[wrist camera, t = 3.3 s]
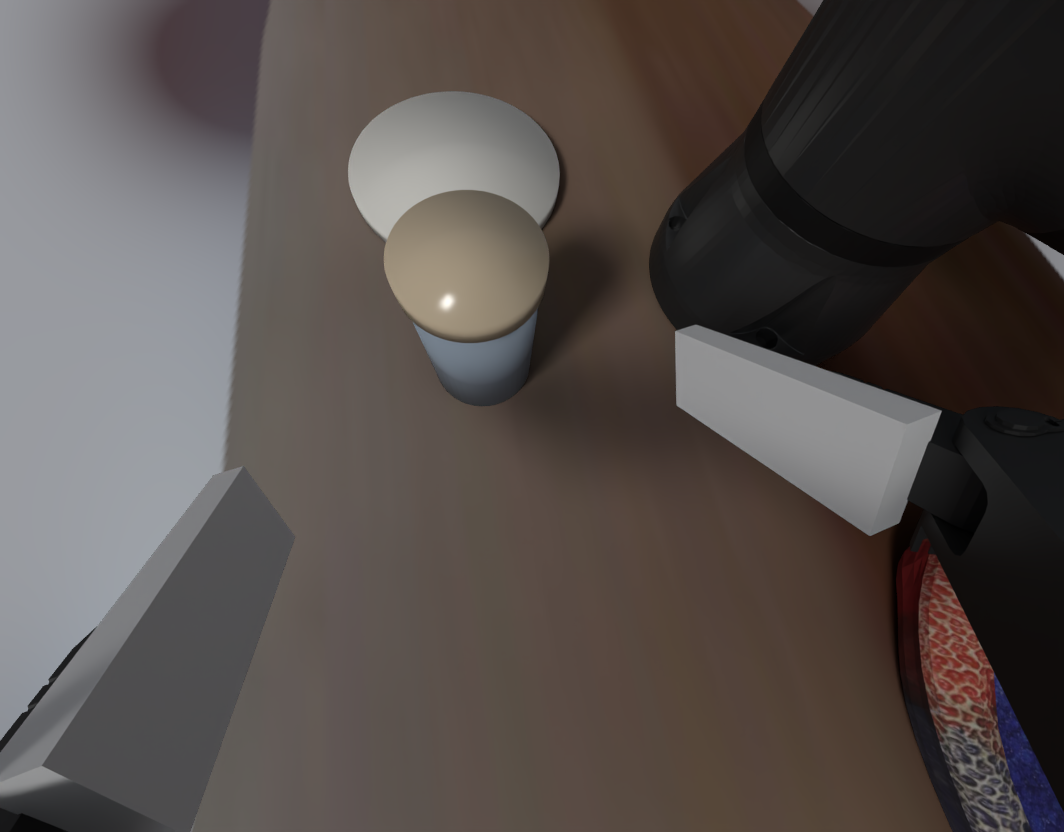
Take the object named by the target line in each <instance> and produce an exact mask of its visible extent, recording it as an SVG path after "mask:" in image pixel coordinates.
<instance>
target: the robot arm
mask: <svg viewBox="0 0 1064 832" xmlns="http://www.w3.org/2000/svg"><path fill="white" fill-rule="evenodd" d="M997 221H1001V222H1004V223H1006V224H1009V225H1012V226H1014V227H1016V228H1018V229H1019V230H1021V231H1023V232H1025V233H1027V234H1029V235H1030V236H1032V237H1034V238H1036V239H1037V240H1039V241H1041V242H1043V243H1044V244H1046V245H1048V246H1049V247H1051V248H1053V249H1054V250H1056V251H1058V252H1059V253H1061V254H1063V255H1064V0H823V2H822V3H821V5H820V7H819V9H818V10H817V12H816V14H815V15H814V17H813V19H812V20H811V22H810V24H809V25H808V27H807V29H806V30H805V32H804V34H803V35H802V37H801V38H800V40H799V42H798V43H797V45H796V47H795V48H794V50H793V52H792V53H791V55H790V57H789V58H788V60H787V61H786V63H785V65H784V66H783V68H782V70H781V71H780V73H779V75H778V76H777V78H776V80H775V81H774V83H773V85H772V86H771V88H770V89H769V91H768V93H767V95H766V97H765V99H764V100H763V102H762V104H761V105H760V107H759V109H758V110H757V112H756V114H755V115H754V117H753V118H752V120H751V122H750V123H749V125H748V126H747V128H746V130H745V131H744V132H743V133H742V134H741V135H740V136H739V137H738V138H737V139H736V140H735V141H734V142H733V143H732V144H731V145H730V146H729V147H728V148H727V149H726V150H725V151H724V152H723V153H721V154H720V155H719V156H718V157H717V158H716V159H715V160H714V161H713V162H712V163H711V164H710V165H709V166H708V167H707V168H706V169H705V170H704V171H703V172H702V173H701V174H700V175H699V176H698V177H697V178H696V179H694V180H693V181H692V182H691V183H690V184H689V185H688V186H687V187H686V188H685V189H684V190H683V191H682V192H681V193H680V194H679V195H678V197H677V198H676V199H675V200H674V202H673V203H672V205H671V206H670V208H669V209H668V211H667V213H666V215H665V217H664V219H663V221H662V223H661V225H660V227H659V229H658V231H657V232H656V235H655V237H654V240H653V243H652V246H651V250H650V258H649V270H650V278H651V283H652V287H653V290H654V293H655V295H656V298H657V300H658V302H659V304H660V306H661V308H662V310H663V312H664V313H665V315H666V316H667V318H668V319H669V321H670V322H671V323H672V324H673V326H674V327H675V328H676V329H677V331H675V350H676V405H677V406H678V407H680V408H681V409H683V410H684V411H686V412H687V413H689V414H690V415H692V416H693V417H695V418H696V419H697V420H699V421H700V422H702V423H703V424H705V425H706V426H708V427H709V428H711V429H712V430H714V431H715V432H717V433H718V434H720V435H721V436H723V437H724V438H726V439H727V440H729V441H730V442H731V443H733V444H734V445H736V446H737V447H739V448H740V449H742V450H743V451H745V452H746V453H748V454H749V455H751V456H752V457H754V458H755V459H757V460H758V461H760V462H761V463H762V464H764V465H765V466H767V467H768V468H770V469H771V470H773V471H774V472H776V473H777V474H779V475H780V476H782V477H783V478H785V479H786V480H788V481H789V482H791V483H792V484H794V485H795V486H796V487H798V488H799V489H801V490H802V491H804V492H805V493H807V494H808V495H810V496H811V497H813V498H814V499H816V500H817V501H819V502H820V503H822V504H823V505H825V506H826V507H828V508H829V509H830V510H832V511H833V512H835V513H836V514H838V515H839V516H841V517H842V518H844V519H845V520H847V521H848V522H850V523H851V524H853V525H854V526H856V527H857V528H859V529H860V530H861V531H863V532H864V533H866V534H867V535H869V536H871V535H873V534H876V533H878V532H880V531H882V530H885V529H887V528H889V527H892V526H894V525H896V524H898V523H899V522H900V520H901V517H902V514H903V512H904V509H905V507H906V504H907V501H910V502H912V503H914V504H915V505H917V506H919V507H921V508H923V512H922V514H921V517H920V519H919V521H918V524H917V526H916V529H915V531H914V533H913V536H912V538H911V541H910V551H913V552H918V550H919V548H920V546H921V543H922V541H923V539H928V540H929V542H930V544H931V546H930V548H929V550H928V554H933V555H936V556H937V558H938V560H939V562H940V564H941V566H942V568H943V570H944V572H945V574H946V576H947V578H948V580H949V582H950V584H951V586H952V588H953V590H954V592H955V594H956V597H957V599H958V601H959V603H960V605H961V607H962V609H963V611H964V613H965V615H966V617H967V619H968V621H969V623H970V625H971V627H972V629H973V631H974V633H975V635H976V637H977V639H978V641H979V643H980V645H981V647H982V649H983V651H984V653H985V655H986V657H987V659H988V661H989V663H990V665H991V667H992V669H993V671H994V673H995V675H996V677H997V679H998V681H999V683H1000V685H1001V687H1002V689H1003V691H1004V693H1005V695H1006V697H1007V699H1008V701H1009V703H1010V705H1011V707H1012V709H1013V711H1014V714H1015V716H1016V718H1017V720H1018V722H1019V724H1020V726H1021V728H1022V730H1023V732H1024V734H1025V736H1026V738H1027V740H1028V742H1029V744H1030V746H1031V748H1032V750H1033V752H1034V754H1035V756H1036V758H1037V760H1038V762H1039V764H1040V766H1041V768H1042V770H1043V772H1044V774H1045V776H1046V778H1047V780H1048V782H1049V784H1050V786H1051V788H1052V790H1053V792H1054V794H1055V796H1056V798H1057V800H1058V802H1059V804H1060V806H1061V808H1062V810H1063V812H1064V419H1062V420H1059V419H1057V418H1055V417H1052V416H1048V415H1045V414H1042V413H1039V412H1034V411H1029V410H1024V409H1019V408H1009V407H998V406H996V407H979V408H976V409H972V410H969V411H967V412H966V413H965V414H964V415H962V414H959V413H956V412H953V411H950V410H947V409H944V408H941V407H938V406H936V405H933V404H930V403H927V402H924V401H921V400H918V399H915V398H912V397H909V396H907V395H904V394H901V393H898V392H895V391H892V390H889V389H885V390H883V389H882V387H880V386H878V385H875V384H872V383H869V382H867V383H864V382H863V380H860V379H857V378H854V377H852V376H849V375H846V374H843V373H839V372H833V371H827V370H824V369H821V368H818V367H816V366H815V365H817V364H819V363H821V362H823V361H825V360H827V359H829V358H830V357H832V356H834V355H836V354H838V353H840V352H842V351H844V350H845V349H847V348H848V347H850V346H851V345H852V344H854V343H855V342H856V341H858V340H859V339H860V338H861V337H862V336H863V335H864V334H865V333H866V332H867V331H868V330H869V329H870V328H871V327H872V326H873V325H874V323H875V322H876V321H877V320H878V319H879V318H880V317H881V316H882V315H883V313H884V312H885V311H886V310H887V309H888V308H889V307H890V306H891V305H892V303H893V302H894V301H895V300H896V299H897V298H898V297H899V296H900V295H901V293H902V292H903V291H904V290H905V289H906V288H907V287H908V286H909V285H910V283H911V282H912V281H913V280H914V279H915V278H916V277H917V276H918V275H919V273H920V272H921V271H922V270H923V269H924V268H925V267H926V266H927V265H928V264H929V263H930V262H932V261H933V260H935V259H936V258H938V257H939V256H941V255H943V254H944V253H945V252H947V251H949V250H950V249H952V248H953V247H955V246H956V245H958V244H960V243H961V242H963V241H964V240H966V239H968V238H969V237H971V236H972V235H974V234H976V233H978V232H980V231H982V230H983V229H985V228H987V227H989V226H990V225H992V224H994V223H996V222H997ZM294 539H295V536H294V534H293V533H292V532H291V530H290V529H289V528H288V526H287V525H286V523H285V522H284V521H283V519H282V518H281V517H280V515H279V514H278V512H277V511H276V510H275V508H274V507H273V506H272V504H271V503H270V501H269V500H268V499H267V497H266V496H265V495H264V493H263V492H262V490H261V489H260V488H259V486H258V485H257V484H256V482H255V481H254V479H253V478H252V477H251V475H250V474H249V473H248V471H247V470H246V468H245V467H244V466H242V467H239V468H235V469H232V470H229V471H226V472H223V473H219V474H217V475H213V476H212V478H211V479H210V480H209V482H208V483H207V484H206V486H205V487H204V488H203V490H202V491H201V492H200V493H199V495H198V496H197V497H196V499H195V500H194V501H193V503H192V504H191V505H190V506H189V508H188V509H187V510H186V512H185V513H184V514H183V516H182V517H181V518H180V519H179V521H178V522H177V523H176V525H175V526H174V527H173V529H172V530H171V531H170V533H169V534H168V535H167V536H166V538H165V539H164V540H163V541H162V543H161V544H160V545H159V547H158V548H157V549H156V551H155V552H154V553H153V554H152V556H151V557H150V558H149V560H148V561H147V562H146V564H145V565H144V566H143V567H142V569H141V570H140V571H139V573H138V574H137V575H136V577H135V578H134V579H133V581H132V582H131V583H130V584H129V586H128V587H127V588H126V590H125V591H124V592H123V594H122V595H121V596H120V597H119V599H118V600H117V601H116V603H115V604H114V605H113V607H112V608H111V609H110V610H109V612H108V613H107V614H106V616H105V617H104V618H103V620H102V621H101V622H100V623H99V625H98V626H97V627H96V628H95V629H94V630H93V631H91V633H89V634H88V635H87V636H86V637H85V638H84V639H83V640H82V641H81V642H80V643H79V644H78V645H76V646H75V647H74V648H73V649H72V651H71V652H70V653H69V654H68V655H67V657H66V658H65V659H64V661H63V662H62V663H61V664H60V666H59V667H58V668H57V669H56V671H55V672H54V673H53V674H52V676H51V677H50V678H49V684H48V685H45V686H43V687H42V689H41V690H40V691H39V693H38V694H37V695H36V696H35V697H34V699H33V700H32V701H31V702H30V704H29V705H28V711H27V712H24V713H22V714H21V715H20V716H19V718H18V719H17V720H16V722H15V723H14V724H13V725H12V727H11V728H10V729H9V730H8V732H7V733H6V734H5V736H4V737H3V738H2V740H1V741H0V832H190V831H191V828H192V825H193V823H194V820H195V817H196V814H197V811H198V809H199V806H200V803H201V800H202V797H203V795H204V792H205V789H206V786H207V783H208V781H209V778H210V775H211V772H212V769H213V766H214V764H215V761H216V758H217V755H218V752H219V750H220V747H221V744H222V741H223V738H224V736H225V733H226V730H227V727H228V724H229V722H230V719H231V716H232V713H233V710H234V708H235V705H236V702H237V699H238V696H239V694H240V691H241V688H242V685H243V682H244V680H245V677H246V674H247V671H248V668H249V666H250V663H251V660H252V657H253V654H254V652H255V649H256V646H257V643H258V640H259V638H260V635H261V632H262V629H263V626H264V623H265V621H266V618H267V615H268V612H269V609H270V607H271V604H272V601H273V598H274V595H275V593H276V590H277V587H278V584H279V581H280V579H281V576H282V573H283V570H284V567H285V565H286V562H287V559H288V556H289V553H290V551H291V548H292V545H293V542H294Z"/></svg>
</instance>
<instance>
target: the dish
mask: <svg viewBox="0 0 1064 832" xmlns="http://www.w3.org/2000/svg"><path fill="white" fill-rule="evenodd" d="M930 546H931V544H930V542H929V540H928V539H923V541H922V543H921V546H920V548H919V550H918V552H913V551H910V546H909V547H908V548H907V549H906V550H905V551H904V553H903V555H902V557H901V559H900V561H899V563H898V567H897V575H896V587H897V603H898V648H899V663H900V674H901V680H902V685H903V691H904V697H905V702H906V706H907V710H908V713H909V717H910V720H911V724H912V727H913V731H914V734H915V737H916V741H917V743H918V746H919V749H920V752H921V754H922V757H923V760H924V762H925V765H926V768H927V771H928V773H929V776H930V779H931V781H932V784H933V786H934V789H935V791H936V793H937V796H938V798H939V801H940V803H941V805H942V808H943V810H944V812H945V815H946V817H947V820H948V822H949V824H950V827H951V829H952V831H953V832H1064V812H1063V810H1062V808H1061V806H1060V804H1059V802H1058V800H1057V798H1056V796H1055V794H1054V792H1053V790H1052V788H1051V786H1050V784H1049V782H1048V780H1047V778H1046V776H1045V774H1044V772H1043V770H1042V768H1041V766H1040V764H1039V762H1038V760H1037V758H1036V756H1035V754H1034V752H1033V750H1032V748H1031V746H1030V744H1029V742H1028V740H1027V738H1026V736H1025V734H1024V732H1023V730H1022V728H1021V726H1020V724H1019V722H1018V720H1017V718H1016V716H1015V714H1014V711H1013V709H1012V707H1011V705H1010V703H1009V701H1008V699H1007V697H1006V695H1005V693H1004V691H1003V689H1002V687H1001V685H1000V683H999V681H998V679H997V677H996V675H995V673H994V671H993V669H992V667H991V665H990V663H989V661H988V659H987V657H986V655H985V653H984V651H983V649H982V647H981V645H980V643H979V641H978V639H977V637H976V635H975V633H974V631H973V629H972V627H971V625H970V623H969V621H968V619H967V617H966V615H965V613H964V611H963V609H962V607H961V605H960V603H959V601H958V599H957V597H956V594H955V592H954V590H953V588H952V586H951V584H950V582H949V580H948V578H947V576H946V574H945V572H944V570H943V568H942V566H941V564H940V562H939V560H938V558H937V556H936V555H933V554H928V550H929V548H930Z"/></svg>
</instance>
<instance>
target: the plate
mask: <svg viewBox="0 0 1064 832" xmlns="http://www.w3.org/2000/svg"><path fill="white" fill-rule="evenodd" d="M348 178H349V185H350V189H351V193H352V195H353V197H354V200H355V202H356V204H357V207H358V209H359V211H360V213H361V215H362V217H363V218H364V220H365V221H366V223H367V224H368V226H369V227H370V228H371V229H372V230H373V231H374V233H375V234H376V235H378V236H379V237H380V238H381V239H382V240H383V241H385V242H386V241H387V239H388V236H389V234H390V232H391V230H392V228H393V226H394V225H395V223H396V222H397V221H398V220H399V218H400V217H401V216H402V215H403V214H404V213H405V212H406V211H407V210H409V209H410V208H411V207H413V206H414V205H415V204H417V203H419V202H421V201H422V200H424V199H426V198H429V197H431V196H433V195H437V194H440V193H443V192H448V191H455V190H478V191H485V192H489V193H493V194H496V195H499V196H502V197H504V198H506V199H509V200H511V201H513V202H514V203H516V204H517V205H519V206H520V207H522V208H523V209H524V210H525V211H527V212H528V213H529V214H530V215H531V216H532V217H533V218H534V220H535V221H536V222H537V224H538V225H539V226H540V228H541V229H542V228H543V227H544V226H545V224H546V222H547V221H548V219H549V218H550V216H551V214H552V211H553V209H554V207H555V203H556V199H557V194H558V188H559V178H560V171H559V162H558V158H557V154H556V152H555V149H554V147H553V145H552V143H551V141H550V139H549V138H548V136H547V135H546V133H545V132H544V131H543V130H542V128H541V127H540V126H539V125H538V124H537V123H536V122H535V121H534V120H533V119H532V118H530V117H529V116H528V115H526V114H525V113H524V112H522V111H521V110H519V109H517V108H516V107H514V106H512V105H510V104H508V103H506V102H503V101H501V100H498V99H495V98H492V97H489V96H485V95H481V94H476V93H469V92H453V91H449V92H436V93H429V94H424V95H420V96H416V97H412V98H410V99H407V100H404V101H402V102H400V103H398V104H396V105H394V106H392V107H390V108H388V109H387V110H385V111H384V112H382V113H380V114H379V115H378V116H377V117H376V118H374V119H373V120H372V121H371V122H370V123H369V124H368V125H367V126H366V127H365V129H364V130H363V131H362V132H361V134H360V135H359V137H358V138H357V140H356V142H355V144H354V147H353V149H352V152H351V155H350V159H349V166H348Z"/></svg>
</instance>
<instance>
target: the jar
mask: <svg viewBox="0 0 1064 832" xmlns="http://www.w3.org/2000/svg"><path fill="white" fill-rule="evenodd" d="M384 268H385V272H386V276H387V279H388V281H389V284H390V286H391V288H392V290H393V292H394V294H395V297H396V299H397V301H398V303H399V305H400V306H401V308H402V310H403V311H404V313H405V314H406V315H407V316H408V317H409V319H410V320H411V321H412V322H413V323H414V325H415V328H416V330H417V332H418V334H419V336H420V339H421V341H422V343H423V345H424V347H425V349H426V352H427V354H428V356H429V358H430V360H431V362H432V365H433V367H434V369H435V371H436V373H437V376H438V378H439V380H440V382H441V384H442V385H443V387H444V388H445V389H446V391H447V392H448V393H449V394H451V395H452V396H453V397H454V398H456V399H458V400H459V401H461V402H464V403H466V404H470V405H474V406H491V405H495V404H499V403H502V402H504V401H506V400H508V399H509V398H511V397H512V396H514V395H515V394H516V393H517V392H518V391H519V390H520V389H521V388H522V386H523V385H524V383H525V381H526V379H527V377H528V374H529V370H530V363H531V356H532V348H533V341H534V334H535V326H536V319H537V312H538V307H539V305H540V303H541V301H542V298H543V296H544V292H545V288H546V282H547V275H548V269H549V249H548V245H547V241H546V239H545V236H544V233H543V232H542V230H541V228H540V226H539V225H538V224H537V222H536V221H535V220H534V218H533V217H532V216H531V215H530V214H529V213H528V212H527V211H525V210H524V209H523V208H522V207H520V206H519V205H517V204H516V203H514V202H513V201H511V200H509V199H506V198H504V197H502V196H499V195H496V194H493V193H489V192H485V191H478V190H455V191H448V192H443V193H440V194H437V195H433V196H431V197H429V198H426V199H424V200H422V201H421V202H419V203H417V204H415V205H414V206H413V207H411V208H410V209H409V210H407V211H406V212H405V213H404V214H403V215H402V216H401V217H400V218H399V220H398V221H397V222H396V223H395V225H394V226H393V228H392V230H391V232H390V234H389V236H388V239H387V241H386V245H385V250H384Z"/></svg>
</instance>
